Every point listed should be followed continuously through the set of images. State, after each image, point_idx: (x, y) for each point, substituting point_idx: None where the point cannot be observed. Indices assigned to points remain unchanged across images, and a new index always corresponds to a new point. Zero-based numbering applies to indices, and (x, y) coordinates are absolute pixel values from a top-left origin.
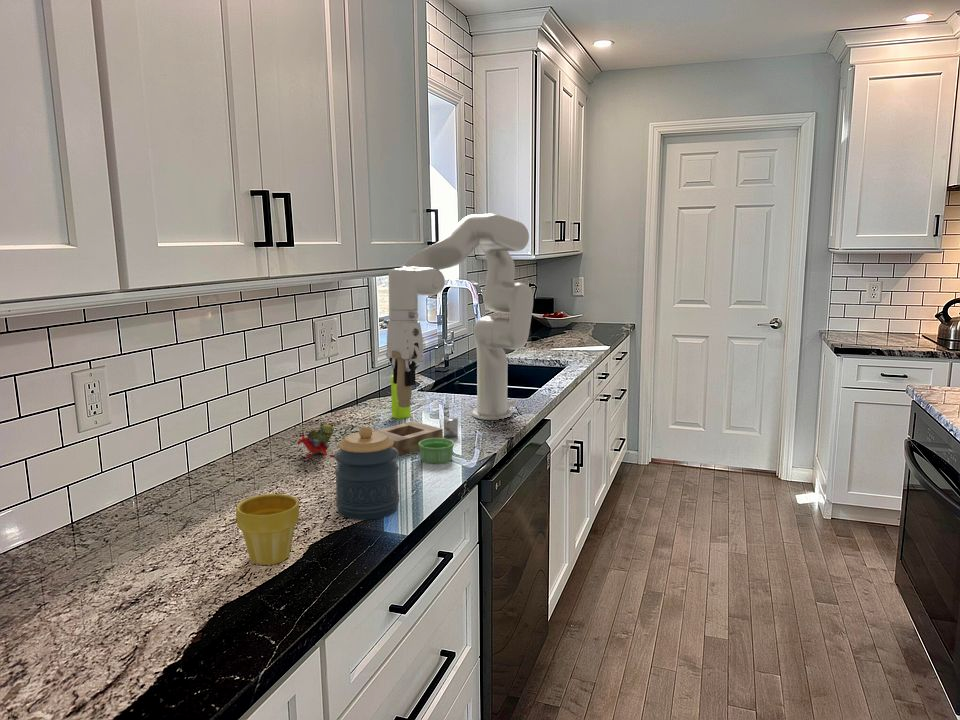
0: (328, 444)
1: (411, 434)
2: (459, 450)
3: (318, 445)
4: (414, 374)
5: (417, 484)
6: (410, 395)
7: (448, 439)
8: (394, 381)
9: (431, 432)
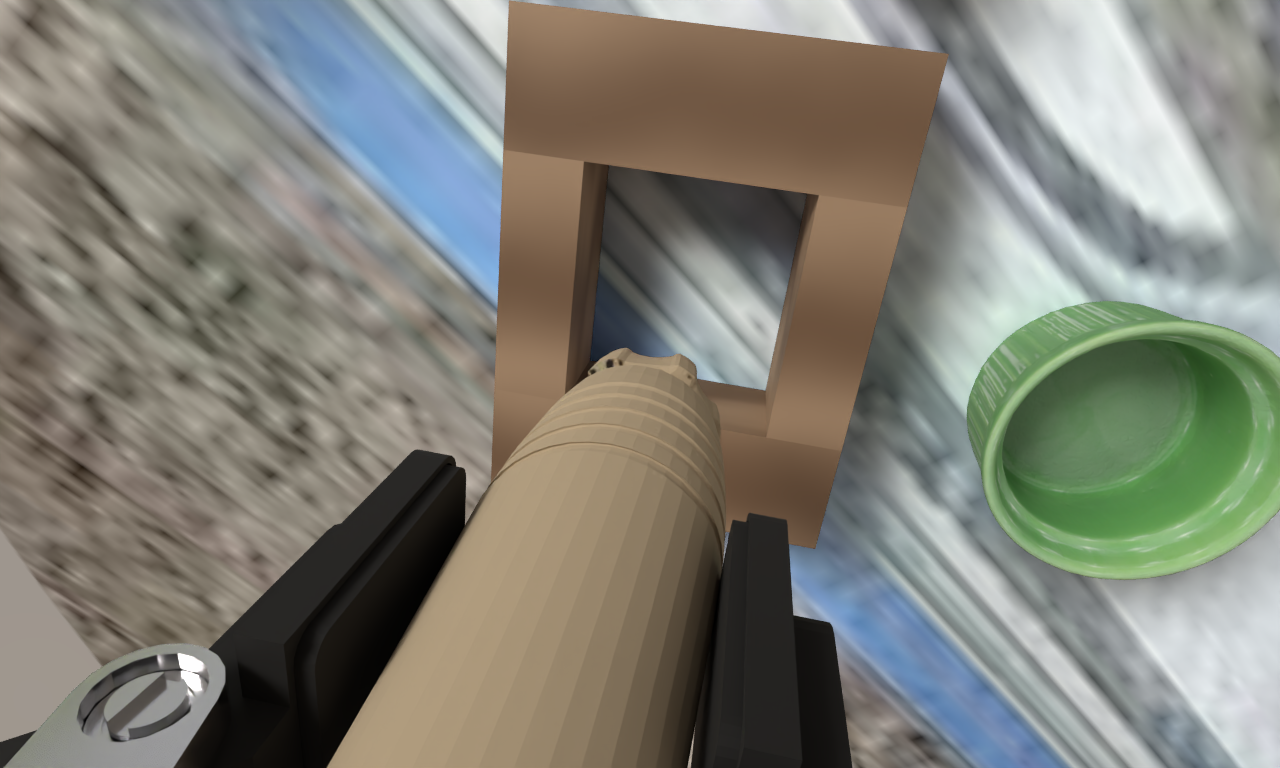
0: None
1: (795, 367)
2: (1163, 140)
3: None
4: (845, 749)
5: (1193, 757)
6: (719, 456)
7: (1204, 333)
8: None
9: (904, 209)
